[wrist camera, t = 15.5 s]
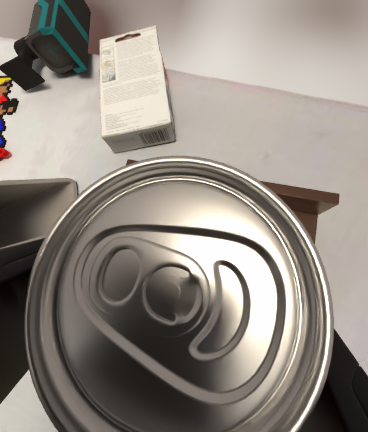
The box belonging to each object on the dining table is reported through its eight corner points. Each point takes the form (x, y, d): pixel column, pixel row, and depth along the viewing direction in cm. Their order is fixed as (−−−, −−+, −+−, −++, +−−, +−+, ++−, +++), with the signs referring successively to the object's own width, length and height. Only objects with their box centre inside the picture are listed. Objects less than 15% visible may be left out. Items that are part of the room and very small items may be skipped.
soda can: (234, 345, 14) (340, 691, 2) (140, 307, 15) (-76, 421, 4) (259, 245, 15) (404, 170, 4) (171, 219, 17) (80, 102, 5)
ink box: (114, 154, 27) (110, 65, 31) (177, 142, 26) (164, 52, 30) (99, 136, 23) (97, 38, 27) (171, 121, 22) (157, 22, 26)
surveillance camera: (42, 41, 35) (92, 14, 33) (32, 96, 31) (88, 70, 29) (6, 0, 30) (62, -36, 28) (-12, 60, 26) (52, 25, 24)
